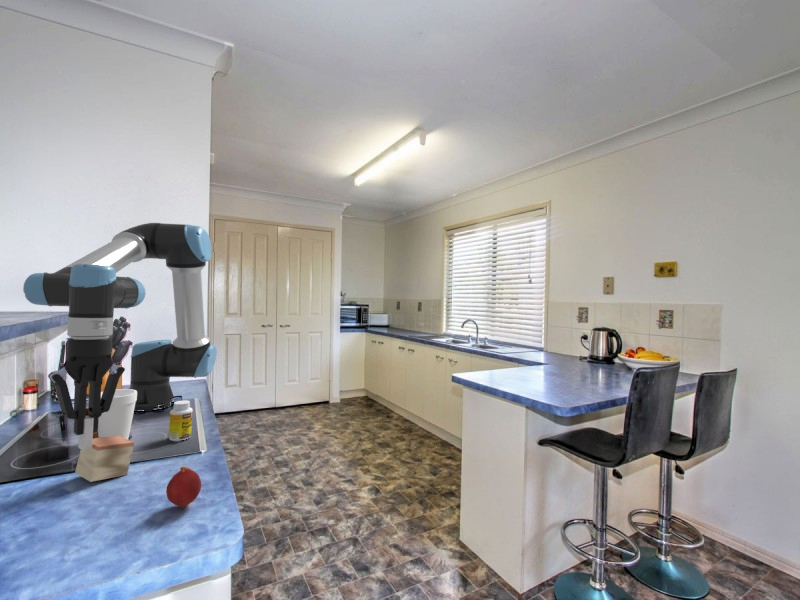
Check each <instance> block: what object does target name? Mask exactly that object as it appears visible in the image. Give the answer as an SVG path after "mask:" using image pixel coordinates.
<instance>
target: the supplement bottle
mask: <svg viewBox="0 0 800 600" xmlns="http://www.w3.org/2000/svg"><path fill="white" fill-rule="evenodd" d="M193 411H194V410H193V408H192V407H191V401H190V400H187V399H186V400H177V401H174V405H173V407H172V408H171V410H170V411H169V425H168V426H169V427H168V440H169V441H171V440H172V441H171V442H179V441H178V440H184V441H187V440H189V439H190V438H191V437H192V432H193V431H192V430H193V416H194V415H193ZM188 438H189V439H188ZM186 439H187V440H186Z"/></svg>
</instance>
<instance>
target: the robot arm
mask: <svg viewBox="0 0 800 600" xmlns="http://www.w3.org/2000/svg"><path fill="white" fill-rule="evenodd" d="M212 251H213V250H212V242H211V239H210V236H209V234H208V232H207V230H206V229H205V228H204V227H203V226H199V225H198V226H197V225H192V224H184V223H183V224H181V223H165V222H164V223H161V222H148V223H143V224H139V225H135V226H132V227H129V228H128V229H125V230H122V231H120V232H119V233H117V234H115V235H114V236H113V237H112V239H111V241H110V242H108V243H107V244H105V245H103V246H100V247H98V248H97V249H95V250H94V251H92V252H89V253H88V254H85V256H83V257H81V258H79V259H77V260H75V261H73V262H72V263H70V264H68V265H66V266H64V267H63V268H61V269H58V270H56V271H55V272H50V273H49V272H35V273H32V274H30V275H28V276H27V278H25V281H24V283H23V288H22V289H23V294H24V297H25V299H26V300H27V301H28V302H29V303H31V304H33V305H38V306H48V307H68V315H67V316H68V317H67V319H68V320H67V329H66V330H67V333H66V335H67V336H68V337H70V338H68V339H67V340H66V351H65V352H66V354H65V355H66V360H65V362H64V363H63V365H62V368H60V369H59V370H57V371H55V372H51V373H49V374H48V377H47V378H48V379H49V380H50V381H51V382H52V384H54V387H55V391H56V395H57V396H56V397H57V399H58V402H59V407H60V410H61V413H62V416H63V417H65V418H67V419H69V420H74V421H73V422H74V423H73V434H74V435H76V436H78V446H77V448H78V449H80V450H83V451H85V450H89V449H92V443H93V438H94V432H98V420H99V417H100V416H101V415H102V413H104V412H108V411H109V409H110V406H111V403H112V400H113V397H114V394H115V390H117V387H118V384H119V381H120V378H121V376H122V375H123V373H124V372H125V371H126V368H125V367H123V366H121V365H120V366H119V365H117V364H115V363H114V359H113V357H112V354H113V339H112V337H111V336H113V334H114V333H113V331H114V311H115V310H114V309H125V310H126V309H130V308H134V307H137V306H139V305H141V303H142V302H143V301H144V299H145V297H146V294H147V293H146V288H145V285H143V283H142V282H140V280H138V279H136V278H133V277H130V276H117V274H116V273H118V272H119V271H121V270H122V269H124V268H125V267H127V266H129V265H130V264H131V263H138V262H140V261H142V260H145V259H155V260H156V259H157V260H165V265H166V267H167V268H168V269H169V270H170V271H171V276H172V277H171V278H172V288H173V299H174V302H173V303H174V313H175V324H176V325H175V326H176V327H175V328H176V338H175V339H174V340H173V341H172V340H171V339H157V340H150V341H143V342H138V343H136V344H134V345H133V346H132V349H131V355H130V384H129V385H130V386H129V388H128V389H132V390H136V391H137V401H136V403H135V408H134V410H140V409H141V410H144V411H148V412H153V411H152V410H153V408H154V406H158V405H160V404H161V403H163V404H164V407H165V409H167V408H166V407H168V406H170V402H171V399H172V398H173V397H174V398H175V396H174V394H173V389H172V386H171V384H170V379H171V378H193V379H194V378H195V379H196V378H206V377H208V376H209V375H210V374H211V373H212V371H213V369H214V367H215V364H216V360H217V359H216V358H217V352H218V351H217V346H216V345H215V344H211V341H210V340H211V339H210V337H209V336H207V335H206V334H205V333H206V332H205V318H204V314H205V312H204V302H203V301H204V299H203V298H204V297H203V280H202V270H203V269H204V268H205V267H206V266H207V265H206V263H207V262H209V261H210V260H211V258H212ZM107 373H109V374H108V375H107ZM67 375H68V376H69V377H70V378H71V379H72V380H73V385H74V396H73V397H74V398H73V399H74V400H73V401H74V402H72V398H71V395H70V391H69V387H68V384H67V382H66V380H67V379H68V378H67ZM106 375H107V378H106V381H105V384H104V388H103V391H102V385H103V380H104V377H105V376H106ZM88 390H89V391H88ZM101 392H103V394H102V397H101ZM87 393H88V395H87ZM87 396H88V406H87ZM87 407H88V410H87ZM168 408H169V407H168ZM86 411H88V412H86ZM86 413H87V414H88V415H87V414H86Z"/></svg>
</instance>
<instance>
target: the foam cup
mask: <svg viewBox="0 0 800 600" xmlns="http://www.w3.org/2000/svg"><path fill="white" fill-rule="evenodd" d="M102 394H103V391H101V397H102ZM136 401H137V391H136V390H132V389H129V388H121V389H120V388H119V389H117V388H116V390H115V394H114V397H113V400H112V403H111V406H110V409H109V411H108V412H104V413H102V415H101V416H100V417H99V420H98V430H97V434H98V438H102V437H111V436H120V437H123V438H125V439H128V440H129V438H130V434H131V428H132V422H133V418H134V413H135V412H134V408H135V403H136Z"/></svg>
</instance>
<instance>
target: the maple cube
mask: <svg viewBox="0 0 800 600" xmlns="http://www.w3.org/2000/svg"><path fill="white" fill-rule="evenodd" d="M134 445H135V442H134V441H132V440H130V439H129V438H128V439H125V438H123V437H120V436H111V437H102V438H99V437H95V438H94V437H93V443H92V449H89V450H85V451H83V450H81V449H80V451H79V454H78V459H77V462H76V463H77V464H76V468H75V472H74V473H75V474H76V475H77V476H79V477H81V478H83V479H84V480H86V481H88V482H90V483H92V482H96V481H101V480H107V479H111V478H116V477H117V478H118V477H123V476H128V473H129V470H130V469H129V468H130V464H131V460H132V459H131V458H132V454H133V449H134Z"/></svg>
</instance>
